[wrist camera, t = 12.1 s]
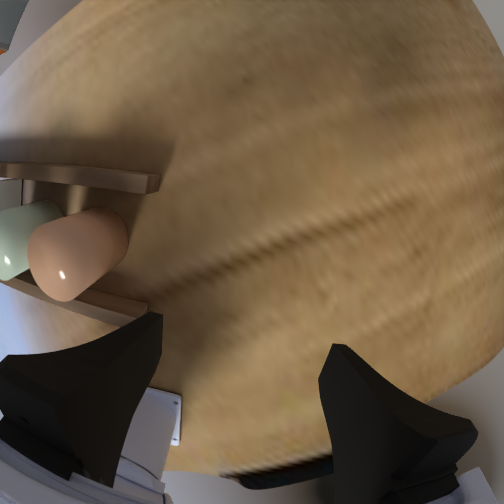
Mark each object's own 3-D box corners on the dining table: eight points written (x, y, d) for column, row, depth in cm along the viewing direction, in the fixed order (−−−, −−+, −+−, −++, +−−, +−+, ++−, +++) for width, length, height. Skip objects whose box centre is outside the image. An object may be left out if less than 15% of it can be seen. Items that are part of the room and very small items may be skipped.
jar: (128, 272, 21) (87, 309, 15) (78, 263, 21) (32, 292, 14) (129, 209, 20) (82, 227, 13) (77, 204, 19) (25, 219, 13)
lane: (147, 315, 22) (132, 339, 18) (-14, 262, 21) (-34, 272, 17) (160, 174, 19) (141, 176, 15) (-15, 161, 18) (-38, 164, 14)
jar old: (66, 260, 21) (20, 287, 14) (30, 249, 20) (-16, 272, 14) (67, 203, 19) (14, 217, 13) (29, 197, 19) (-21, 209, 13)
